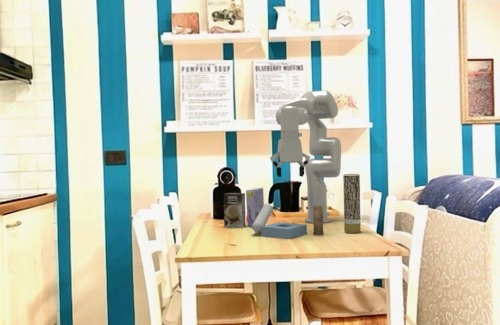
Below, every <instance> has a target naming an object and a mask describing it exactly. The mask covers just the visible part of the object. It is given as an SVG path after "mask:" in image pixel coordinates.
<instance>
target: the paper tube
mask: <svg viewBox="0 0 500 325" xmlns="http://www.w3.org/2000/svg"><path fill="white" fill-rule="evenodd" d="M360 177H361V175H360V174H359V173H344V174H343V175H342V179H343V223H344V224H343V225H344V226H343V227H344V232H345V233H346V234H359V233H361V231H362V230H361V188H360V187H361V184H360V182H361V180H360V179H361V178H360Z"/></svg>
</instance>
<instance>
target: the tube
mask: <svg viewBox="0 0 500 325" xmlns="http://www.w3.org/2000/svg"><path fill="white" fill-rule="evenodd" d="M273 211H274V207H273V206H272V205H271V204H269V203H264V206H263V207H262V209H261V211H260V213H259V214H258V216H257V218H256V219H255V221H254V223H253V224H252V227H251V229H252V230H253V232H255V233H260V234H261V227H262V226H266V225H267V222H268V220H269V219H270V217H271V214H272V213H273Z"/></svg>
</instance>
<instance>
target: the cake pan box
mask: <svg viewBox="0 0 500 325" xmlns="http://www.w3.org/2000/svg"><path fill="white" fill-rule="evenodd" d="M264 196H265V194H264V188H263V187H256V188H250V189H246V190H245V202H246V216H247V227H251V228H252V224H253V223H254V221H255V219H256V218H257V216H258V214H259V213H260V211H261V209H262V207H263V206H264V205H265V199H264Z"/></svg>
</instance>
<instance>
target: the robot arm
mask: <svg viewBox="0 0 500 325" xmlns="http://www.w3.org/2000/svg"><path fill="white" fill-rule="evenodd" d="M338 113H339V106H338V104H337V101H336V99H335V97H334V96H333V94H332V93H331V92H330V91H329V90H312V91H307V92H305V93H303V95H302V96H301V97H300V98H298V99H295V100H292V101H291V102H287V103H285V104H283V105H281V106H280V107H279V108H278V109H277V111H276V113H275V121H276V123H277V124H278V125H279V126H280V139H278V143H277V152H276V153H275V154H273V155H272V156H270V157H269V159H270V161H271V163H272V164H273V166H274V167H275V169H276V176H277V177H278V178H281V177H282V167H281V166H282V165H283V164H293V163H295V164H296V163H297V164H298V166H299V167H298V168H299V169H298V170H299V174H298V175H299V177H300V178H301V177H304V175H305V176H306V177H305V178H306V186H307V187H306V188H307V217H306V218H304V222H305V223H310V224H313V206H323V224H324V223H325V224H326V223H330V222H331V219H330V218H329V217H328V216H330V215H331V213H330V212H329V211H328V204H327V203H328V201H327V200H328V199H327V198H328V197H327V185H326V183H325V181H324V180H323V178H337V177H339V176H340V174H341V169H342V168H341V167H342V165H341V164H342V161H341V160H342V143H341V140H340V139H339V138H338V137H335V136H329V137H328V136H327V134H328V132H327V131H328V130H327V129H328V128H327V126H326V125H325V123H324V122H323V121H321V120H322V119H325V120H326V119H334V118H336V117H337V116H338ZM306 124H307V125H308V127H309V143H308V144H309V145H308V146H309V147H308V148H309V155H308V154H307V153H305V152H303V145H302V141H301V139H300V137H303V133H302V132H300V129H299V128H300V127H299V126H303V125H306ZM311 156H313V157H318V158H311ZM319 157H320V158H319ZM322 157H329V158H322ZM276 158H277V159H276ZM304 159H305V160H304ZM276 160H277V161H276ZM303 160H304V161H303Z"/></svg>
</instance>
